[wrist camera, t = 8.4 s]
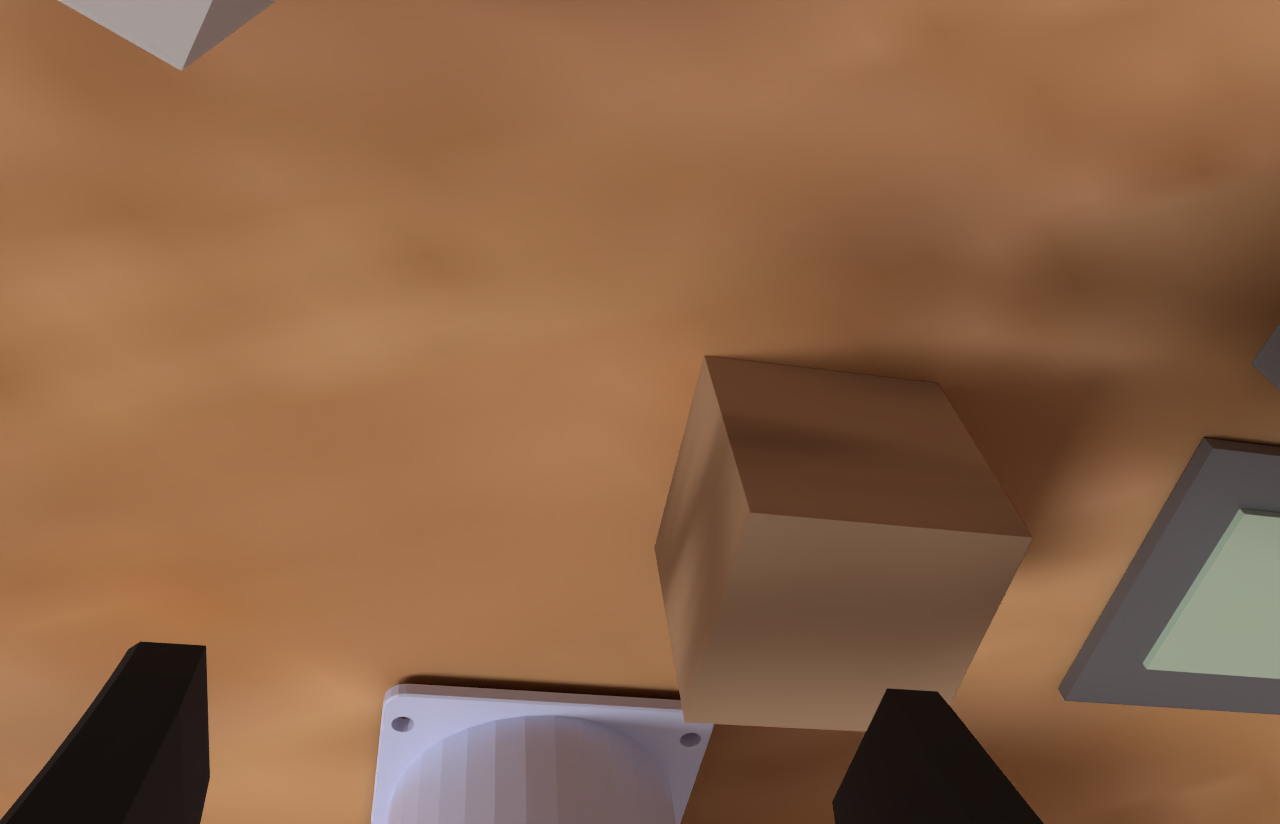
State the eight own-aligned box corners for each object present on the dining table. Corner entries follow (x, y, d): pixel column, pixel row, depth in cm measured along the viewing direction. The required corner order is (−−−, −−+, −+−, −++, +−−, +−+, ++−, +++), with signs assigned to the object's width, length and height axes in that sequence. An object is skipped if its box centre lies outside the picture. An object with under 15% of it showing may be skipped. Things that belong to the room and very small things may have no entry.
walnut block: (864, 562, 25) (934, 735, 21) (654, 545, 24) (684, 722, 20) (936, 381, 23) (1032, 537, 18) (703, 353, 22) (750, 512, 17)
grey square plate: (1322, 706, 30) (1336, 723, 29) (1058, 688, 28) (1068, 706, 28) (1502, 473, 25) (1522, 489, 25) (1203, 437, 24) (1217, 454, 23)
